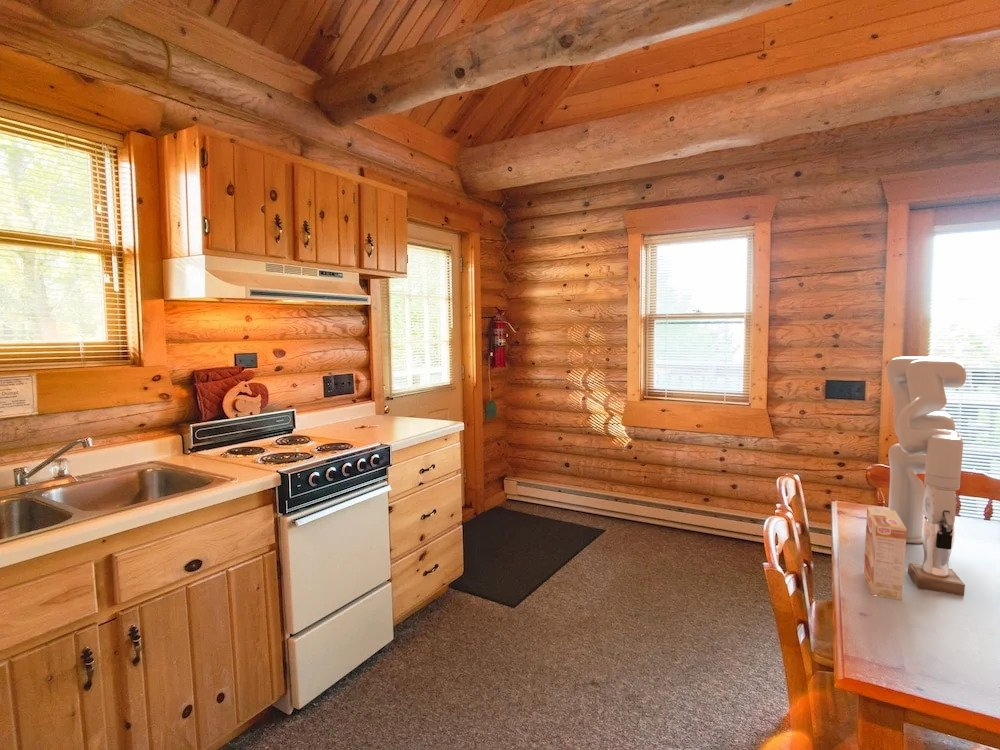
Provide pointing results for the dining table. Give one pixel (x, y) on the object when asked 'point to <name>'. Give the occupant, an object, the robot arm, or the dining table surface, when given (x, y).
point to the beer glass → (934, 551)
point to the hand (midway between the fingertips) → (937, 541)
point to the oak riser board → (936, 581)
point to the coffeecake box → (885, 553)
